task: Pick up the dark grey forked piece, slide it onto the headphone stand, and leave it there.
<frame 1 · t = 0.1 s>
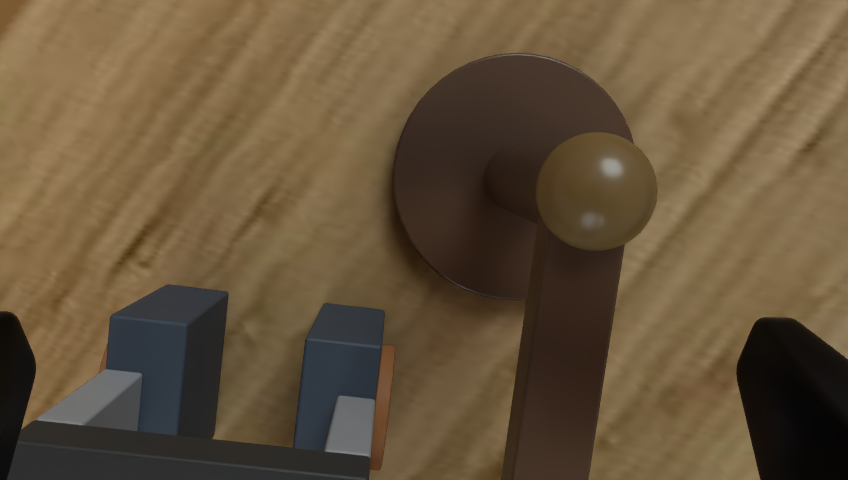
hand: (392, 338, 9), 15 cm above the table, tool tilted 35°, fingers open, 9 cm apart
headphone stand: (512, 178, 24), on the table
dark grey forked piece: (268, 369, 24), on the table
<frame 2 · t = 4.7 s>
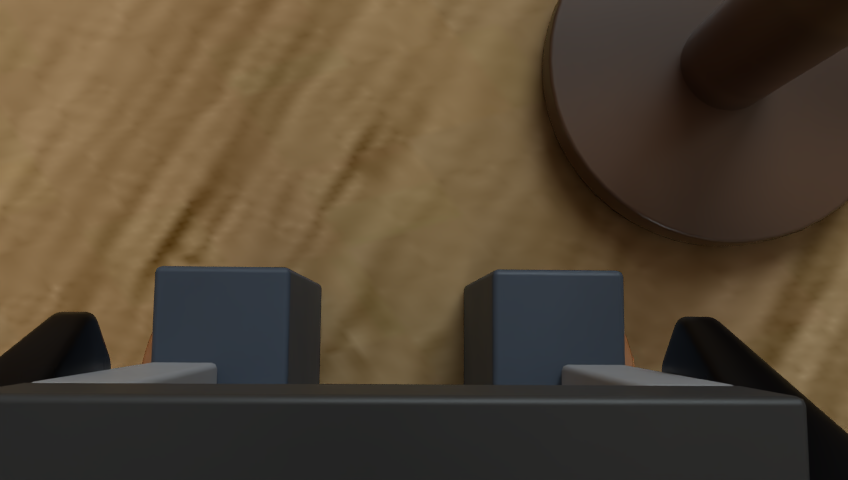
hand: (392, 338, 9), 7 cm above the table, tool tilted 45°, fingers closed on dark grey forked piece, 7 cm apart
headphone stand: (711, 76, 17), on the table
dark grey forked piece: (391, 399, 16), on the table, touching gripper
when the fingers open (8 cm above the table, at t = 10.3 s): dark grey forked piece stays where it is, resting on headphone stand.
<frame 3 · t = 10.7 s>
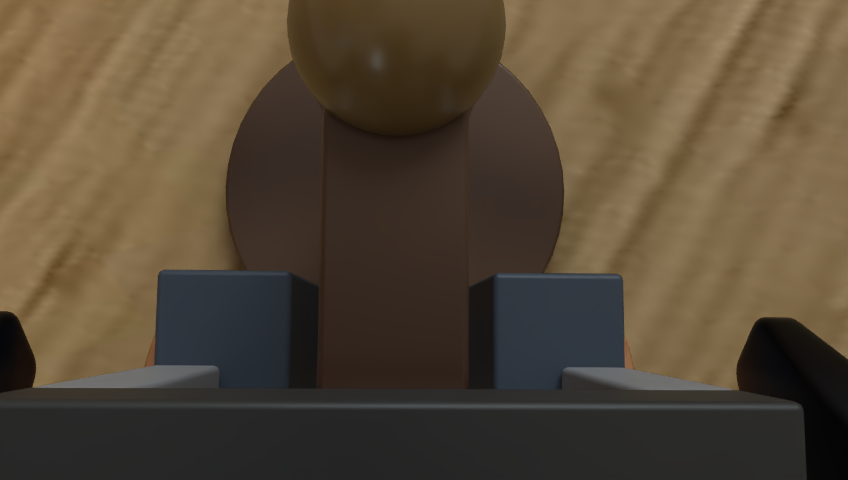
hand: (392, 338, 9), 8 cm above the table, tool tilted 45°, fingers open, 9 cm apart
headphone stand: (396, 194, 18), on the table
dark grey forked piece: (392, 401, 16), point 1 cm above the table, touching headphone stand
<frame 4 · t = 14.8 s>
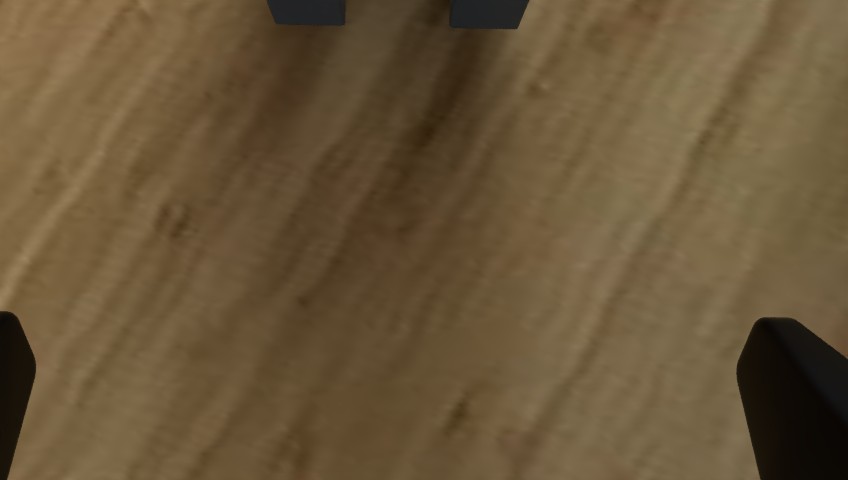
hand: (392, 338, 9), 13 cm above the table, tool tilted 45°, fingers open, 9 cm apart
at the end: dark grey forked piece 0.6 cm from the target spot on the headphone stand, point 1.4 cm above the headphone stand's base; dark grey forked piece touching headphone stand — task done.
